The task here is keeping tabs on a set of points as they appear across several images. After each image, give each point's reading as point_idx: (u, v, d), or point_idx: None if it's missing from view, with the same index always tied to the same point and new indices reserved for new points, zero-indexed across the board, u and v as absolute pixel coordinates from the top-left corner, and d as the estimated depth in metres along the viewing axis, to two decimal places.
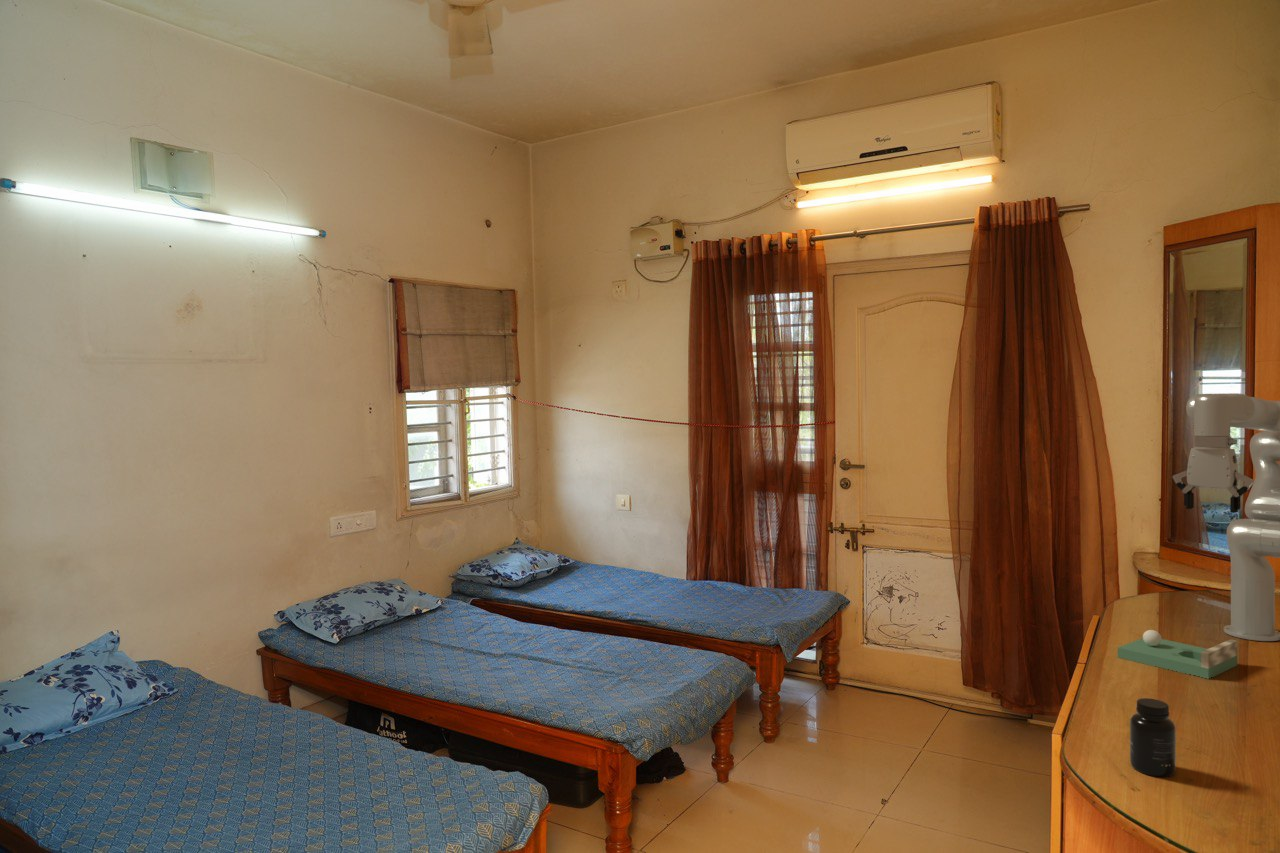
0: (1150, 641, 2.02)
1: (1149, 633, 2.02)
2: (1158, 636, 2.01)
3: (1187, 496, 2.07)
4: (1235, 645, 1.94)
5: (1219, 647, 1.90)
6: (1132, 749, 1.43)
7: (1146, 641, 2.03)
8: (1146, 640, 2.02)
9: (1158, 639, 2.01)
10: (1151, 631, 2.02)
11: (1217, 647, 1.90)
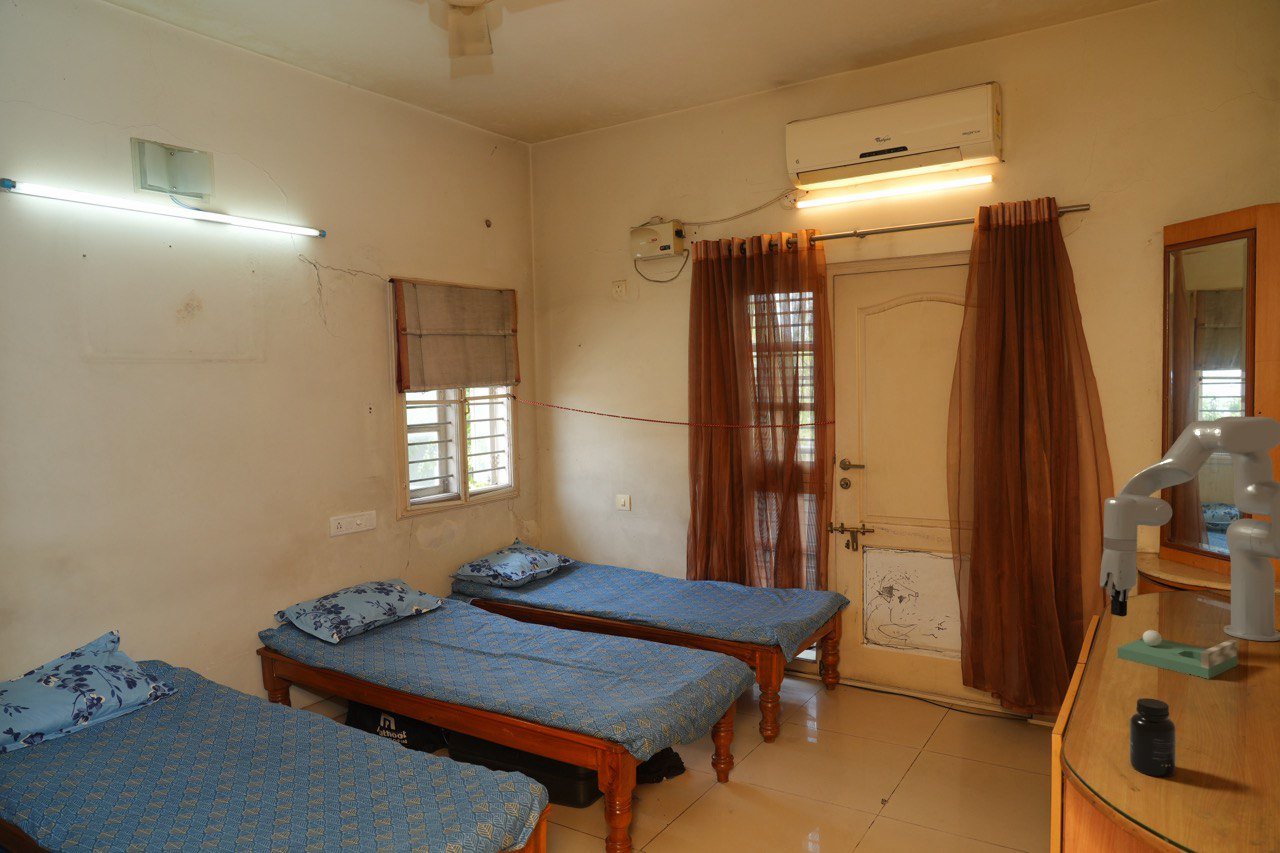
0: (1150, 641, 2.02)
1: (1149, 633, 2.02)
2: (1158, 636, 2.01)
3: (1124, 604, 2.07)
4: (1235, 645, 1.94)
5: (1219, 647, 1.90)
6: (1132, 749, 1.43)
7: (1146, 641, 2.03)
8: (1146, 640, 2.02)
9: (1158, 639, 2.01)
10: (1151, 631, 2.02)
11: (1217, 647, 1.90)
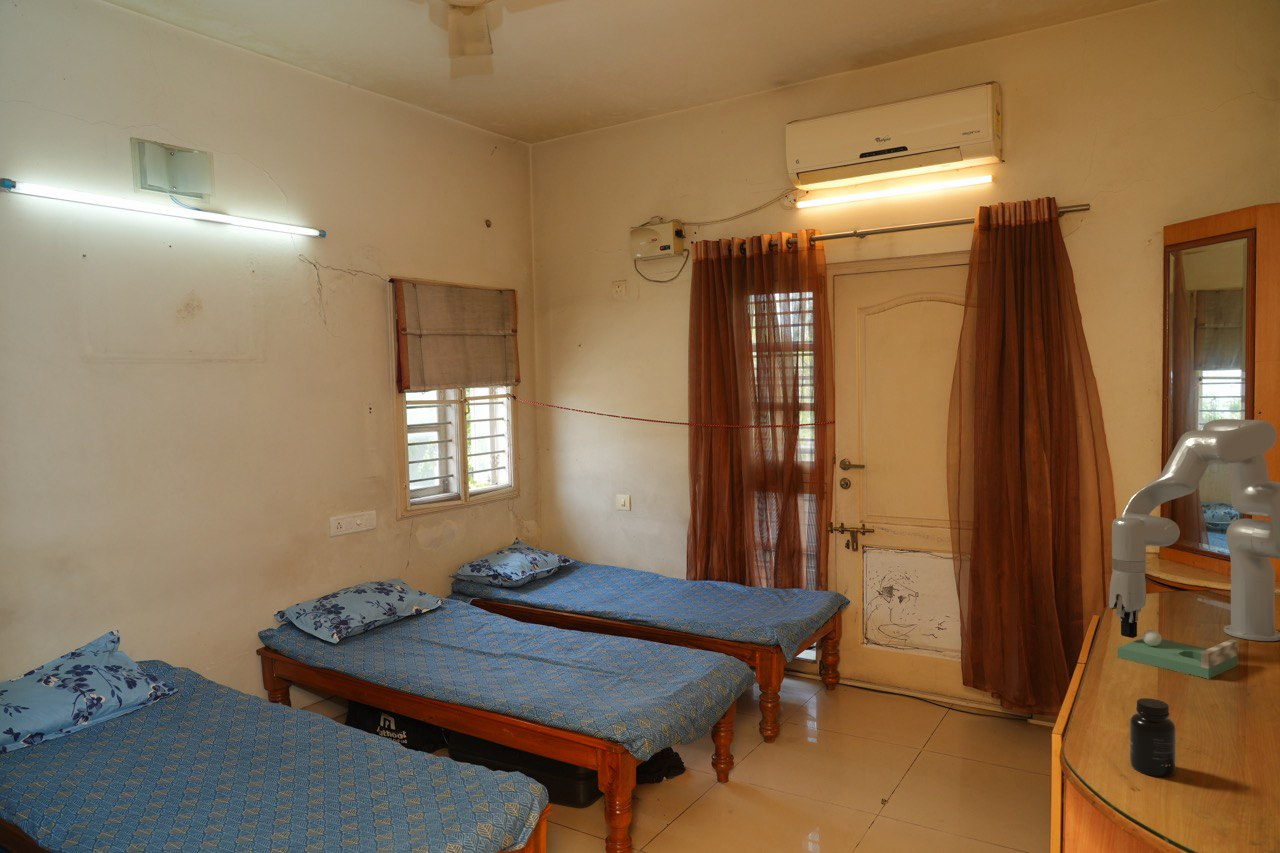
0: (1150, 641, 2.02)
1: (1149, 633, 2.02)
2: (1158, 636, 2.01)
3: (1134, 625, 2.06)
4: (1235, 645, 1.94)
5: (1219, 647, 1.90)
6: (1132, 749, 1.43)
7: (1146, 641, 2.03)
8: (1146, 640, 2.02)
9: (1158, 639, 2.01)
10: (1151, 631, 2.02)
11: (1217, 647, 1.90)
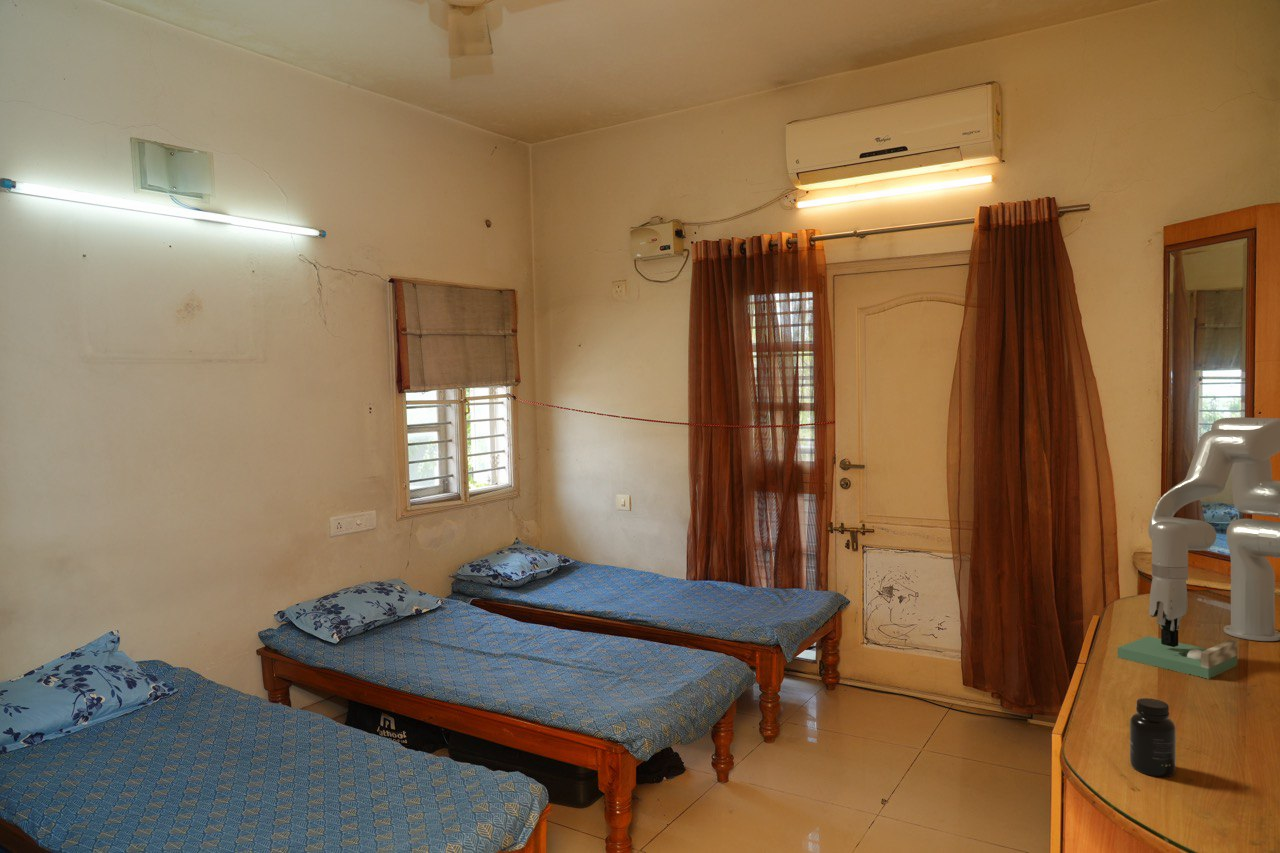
0: None
1: (1189, 655, 1.95)
2: (1196, 650, 1.94)
3: (1175, 634, 1.98)
4: (1235, 645, 1.94)
5: (1219, 647, 1.90)
6: (1132, 749, 1.43)
7: None
8: None
9: (1198, 652, 1.94)
10: (1188, 652, 1.96)
11: (1217, 647, 1.90)
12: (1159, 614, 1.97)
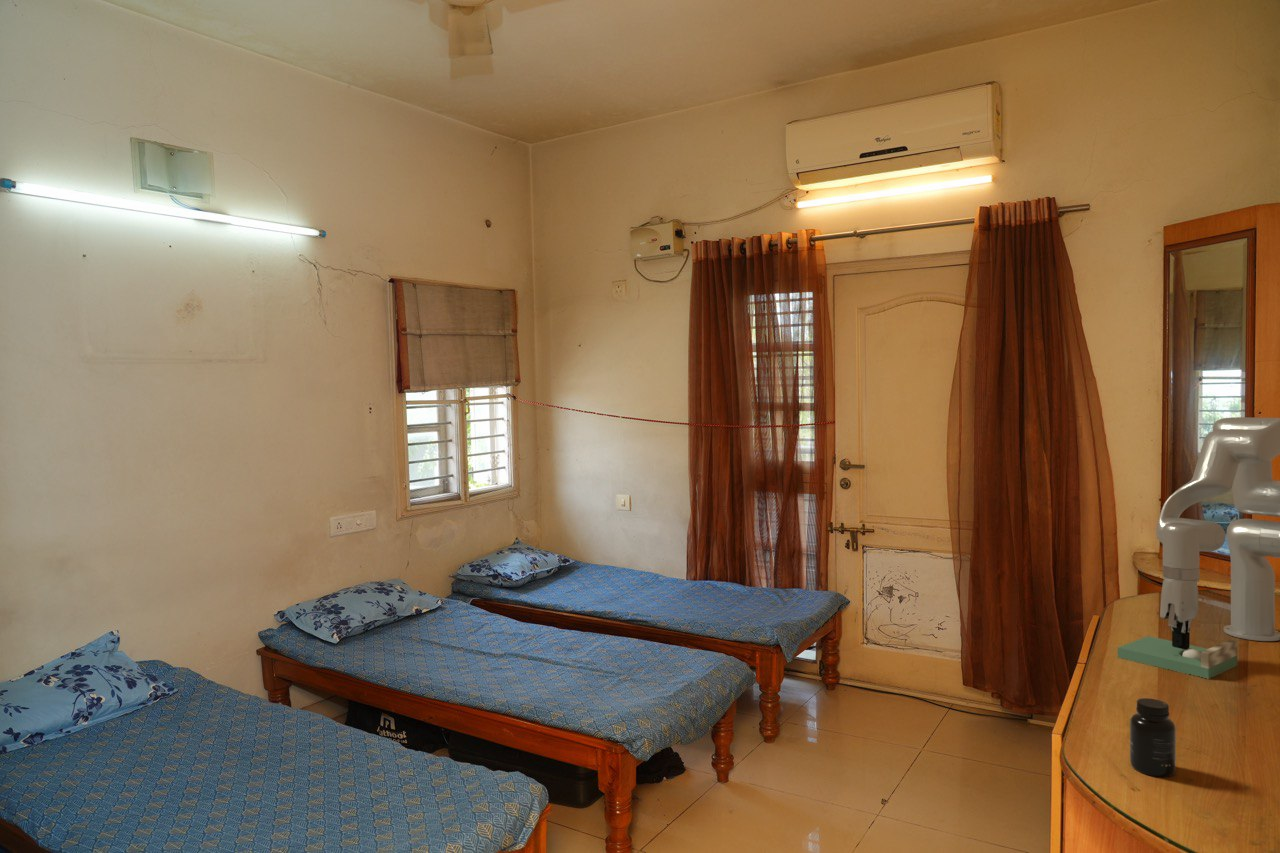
0: (1191, 657, 1.94)
1: (1183, 655, 1.96)
2: (1188, 649, 1.96)
3: (1187, 636, 1.96)
4: (1235, 645, 1.94)
5: (1219, 647, 1.90)
6: (1132, 749, 1.43)
7: None
8: None
9: (1191, 650, 1.95)
10: None
11: (1217, 647, 1.90)
12: (1170, 616, 1.95)
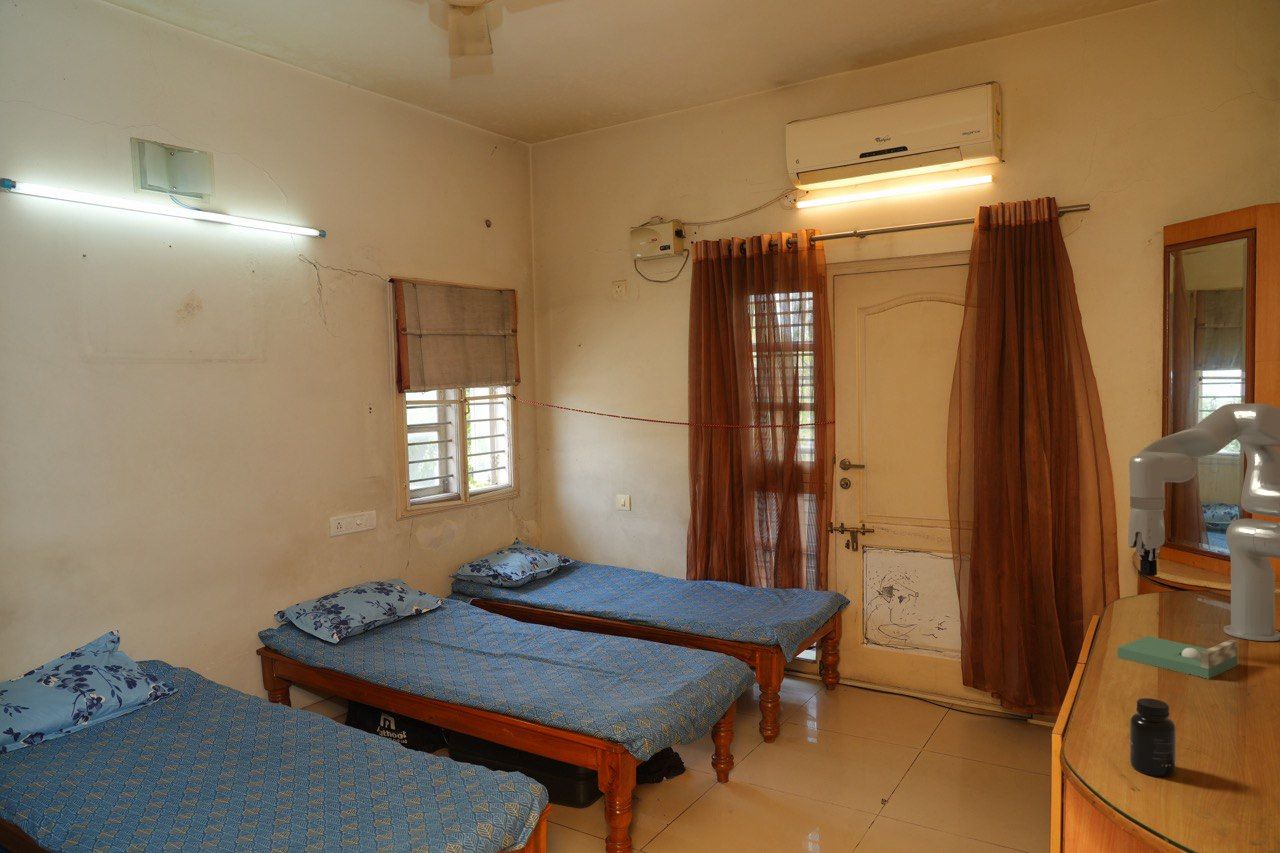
0: (1190, 656, 1.95)
1: (1182, 655, 1.96)
2: (1186, 649, 1.96)
3: (1154, 563, 2.03)
4: (1235, 645, 1.94)
5: (1219, 647, 1.90)
6: (1132, 749, 1.43)
7: None
8: None
9: (1189, 649, 1.96)
10: (1181, 654, 1.97)
11: (1217, 647, 1.90)
12: (1138, 544, 2.02)
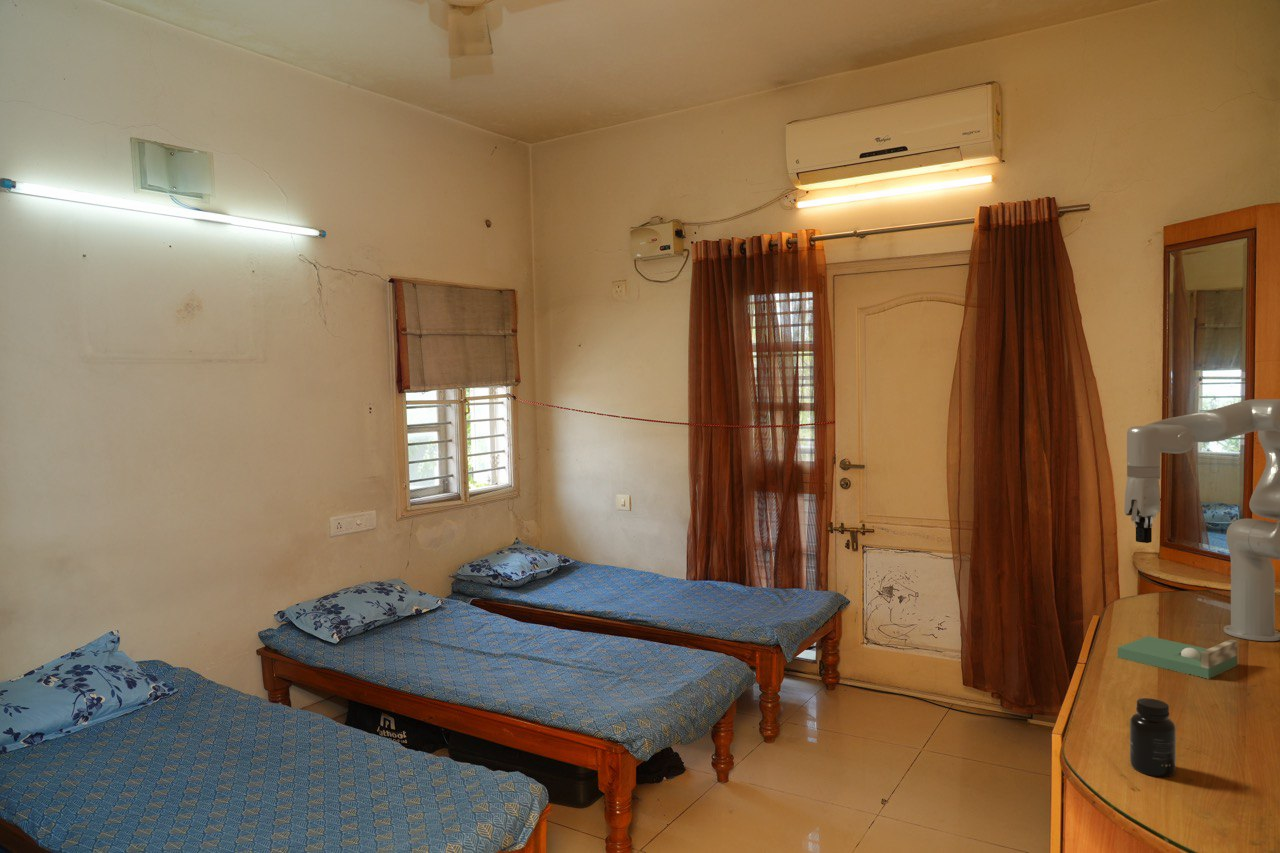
0: (1189, 656, 1.95)
1: (1181, 655, 1.96)
2: (1185, 649, 1.97)
3: (1149, 530, 2.11)
4: (1235, 645, 1.94)
5: (1219, 647, 1.90)
6: (1132, 749, 1.43)
7: None
8: None
9: (1188, 649, 1.96)
10: None
11: (1217, 647, 1.90)
12: (1133, 511, 2.09)
